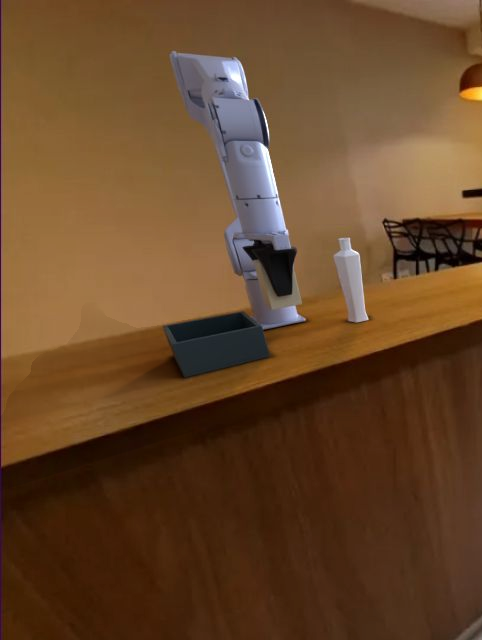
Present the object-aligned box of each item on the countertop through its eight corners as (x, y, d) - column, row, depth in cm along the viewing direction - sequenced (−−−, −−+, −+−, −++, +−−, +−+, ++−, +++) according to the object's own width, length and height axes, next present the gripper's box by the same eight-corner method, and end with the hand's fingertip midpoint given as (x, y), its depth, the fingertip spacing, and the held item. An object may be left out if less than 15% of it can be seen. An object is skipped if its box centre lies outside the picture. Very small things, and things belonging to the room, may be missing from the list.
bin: (173, 356, 69) (162, 325, 67) (251, 339, 76) (243, 311, 73) (184, 377, 61) (172, 344, 59) (270, 356, 68) (261, 325, 66)
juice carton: (265, 305, 69) (249, 249, 65) (294, 300, 71) (281, 245, 68) (271, 310, 66) (256, 251, 63) (302, 304, 69) (289, 248, 65)
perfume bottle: (364, 323, 82) (349, 240, 76) (342, 322, 83) (327, 240, 77) (375, 316, 86) (363, 237, 80) (355, 315, 87) (341, 236, 81)
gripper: (213, 198, 65) (240, 289, 71) (237, 201, 55) (266, 307, 61) (265, 196, 69) (286, 282, 75) (296, 198, 59) (317, 297, 65)
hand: (280, 293), depth 68 cm, fingers closed on juice carton, 3 cm apart
